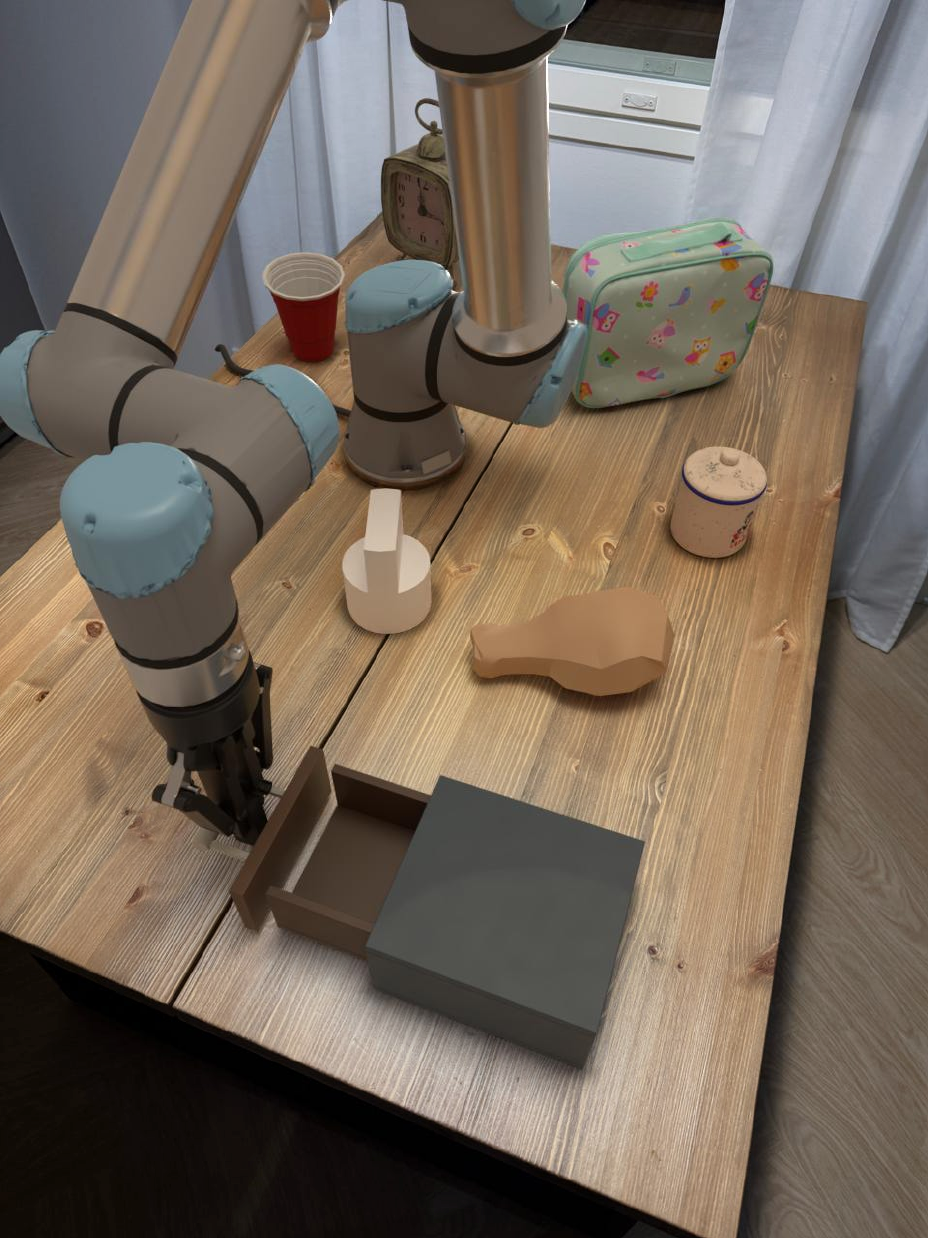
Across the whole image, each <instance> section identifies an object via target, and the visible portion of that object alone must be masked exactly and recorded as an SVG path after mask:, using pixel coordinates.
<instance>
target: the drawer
mask: <svg viewBox="0 0 928 1238" xmlns="http://www.w3.org/2000/svg"><path fill="white" fill-rule="evenodd" d="M330 773H331V774H330V775H331V780H332V784H333V789H334V794H335V799H336V806H335V808H334V811H333V813H332V814H331V815H330V819H329V820H328V821H327V824H326V826H325V828H324V830H323V832H322V834H321V835H320V838H319V840H318V842H317V843H316V846H315V847H314V849H313V851H312V853H311V855H310V857H309V859H308V861H307V863H306V865H305V867H304V869H303V870H302V873H301V874H300V877H299V878H298V881H297V882H296V884H295V886H294V888H293V890H292V892H290V891H288V890H286V889H282V887H283V885H284V883H285V881H286V879H288V876H289V874H290V872H291V870H292V868H293V866H294V864H295V862H296V860H297V859H298V856H299V855H300V853H301V851H302V849H303V847H304V845H305V843H306V841H307V840H308V838H309V836H310V834H311V832H312V830H313V828H314V826H315V824H316V822H317V821H318V819H319V817H320V814H321V813H322V812H323V809H324V808H325V805H326V804H327V802H328V799H329V798H330V797H331V794H332V792H333V791H332V785H331V781H330V775H329V771H328V766H327V762H326V756H325V751H324V749H323V748H320V747H317V746H314V745H309V748H308V749H307V751H306V753H305V754H304V756H303V758H302V760H301V762H300V764H299V765H298V767H297V768H296V770H295V773H294V774H293V776H292V777H291V779H290V781H289V783H288V785H287V786H286V788H285V789H282V788H279V787H277V786H274V785H272V789H271V791H270V793H269V794H268V796H273V797H276V798H278V799H279V801H278V802H277V804H276V806H275V808H274V809H273V811H272V813H271V815H270V816H269V818H268V822H267V824H266V825H265V827H264V829H263V831H262V832H261V834H260V836H259V838H258V839H257V841H256V843H255V845H254V847H253V846H252V848H251V850H250V852H248V851H245V850H243V849H241V848H237V847H234V846H231V845H228V844H226V843H223V842H221V841H218V840H217V839H218V837H219V835H220V834H218V833H215V832H213V831H210V830H207V829H204V828H201V827H199V828H198V829H197V831H196V833H195V834H194V836H193V837H192V839H191V841H190V843H191V845H192V846H193V847H194V848H196V849H197V850H199V851H201V852H205V853H208V852H209V851H210V850H212V851H214V852H218V853H220V854H223V855H226V856H229V857H232V858H234V859H237V860H240V861H242V862H243V864H242V866H241V868H240V870H239V872H238V873H237V875H236V877H235V879H234V880H233V882H232V884H231V885H230V887H229V889H228V892H229V895H230V897H231V899H232V901H233V903H234V906H235V908H236V910H237V912H238V915H239V917H240V919H241V921H242V924H243V926H244V928H246V929H248V930H251V931H254V932H257V933H258V932H259V931H260V929H261V927H262V926H263V924H264V921H265V920H266V918H267V917H268V916H267V915H268V914H269V912H270V910H271V913H272V915H273V919H274V921H275V923H276V926H277V928H278V929H281V930H284V931H286V932H288V933H291V934H294V935H296V936H299V937H301V938H304V939H307V940H310V941H313V942H314V943H318V944H321V945H323V946H326V947H328V948H330V949H334V950H336V951H338V952H341V953H344V954H346V955H349V956H352V957H354V958H357V959H360V960H362V961H365V962H367V963H368V960H367V955H366V949H365V944H366V942H367V940H368V938H369V935H370V933H371V931H372V929H373V926H374V924H375V922H376V919H377V917H378V915H379V913H380V910H381V908H382V906H383V904H384V901H385V899H386V897H387V895H388V892H389V890H390V888H391V885H392V883H393V881H394V879H395V876H396V874H397V872H398V870H399V867H400V865H401V863H402V860H403V858H404V856H405V854H406V851H407V849H408V847H409V845H410V842H411V840H412V838H413V835H414V833H415V831H416V829H417V826H418V824H419V822H420V820H421V817H422V815H423V813H424V811H425V808H426V806H427V804H428V801H429V799H430V797H431V795H432V794H428V793H426V792H422V791H420V790H416V789H413V788H410V787H407V786H404V785H401V784H399V783H395V782H392V781H390V780H386V779H383V778H381V777H378V776H377V777H376V776H373V775H371V774H367V773H365V772H362V771H359V770H355V769H353V768H350V767H346V766H343V765H340V764H337V763H334V764H333V766H332V768H331V770H330Z"/></svg>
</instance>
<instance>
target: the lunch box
mask: <svg viewBox="0 0 928 1238" xmlns="http://www.w3.org/2000/svg"><path fill="white" fill-rule="evenodd" d="M773 275H774V260H773V256H772V254H771V253H770V252H769V251H767V250H766V249H765V248H764V247H763V246H762V245H760V243H759V242H757V241H756V240H755V239H754V238H752V236H750V235H749V234H748V233H747V231H746V230H745V229H744V228H743V227H742V225H741V224H740V222H738V221H737V220H735V219H731V218H729V217H718V218H717V217H716V218H715V217H714V218H707V219H702V220H697V221H693V222H688V223H684V224H679V225H674V226H669V227H663V228H657V229H649V230H644V231H636V232H633V231H631V232H615V233H608V234H607V233H606V234H602V235H600V236H596V237H594V238H592V239H589V240H588V241H586V242H585V243H584V244H582V245H581V246H580V247H579V248H577V249H576V251H575V252H574V253H573V254H572V255H571V256H570V258H569V260H568V262H567V265H566V269H565V272H564V279H563V286H562V290H561V291H562V293H563V295H564V297H565V300H566V303H567V319H568V320H571V321H572V320H573V319H575V320H578V322H579V323H582V324H584V325H585V326H586V327H587V330H588V336H587V343H586V347H585V352H584V355H583V359H582V362H581V365H580V368H579V371H578V374H577V377H576V380H575V382H574V385H573V387H572V390H571V393H572V395H573V397H574V399H575V401H576V402H577V403H578V404H579V405H581V406H582V407H586V408H589V409H601V408H608V407H613V406H619V405H624V404H628V403H634V402H638V401H645V400H652V399H665V398H666V399H667V398H669V397H673V396H674V395H677V394H679V393H680V394H681V393H682V392H688V391H691V390H696V389H703V388H706V387H709V386H712V385H715V384H718V383H719V382H721V381H723V380H725V379H726V378H728V377H729V376H730V375H731V374H732V373H734V371H735V370H736V369H737V368H738V367H739V366H740V365H741V363H742V362H743V360H744V358H745V357H746V355H747V352H748V350H749V349H750V345H751V343H752V340H753V337H754V335H755V331H756V328H757V326H758V323H759V319H760V316H761V314H762V310H763V307H764V305H765V302H766V299H767V295H768V292H769V288H770V286H771V283H772V280H773Z"/></svg>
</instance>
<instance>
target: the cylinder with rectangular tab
mask: <svg viewBox="0 0 928 1238" xmlns="http://www.w3.org/2000/svg"><path fill="white" fill-rule="evenodd" d="M402 501H403V499H402V490H400V489H389V488H374V489H371V490H370V494H369V502H368V503H369V504H368V510H367V519H366V527H365V535H364V537H362V538H359V539H358V540H356V541H355V542H354V543H353V544H352V545H350V546H349V547H348V548H347V550H346V552H344V555H343V558H342V563H341V564H342V567H341V568H342V575H343V585H344V590H345V598H346V606H347V610H348V613H349V616H350V618H351V619H352V621H354V622H355V623H356V625H358V626H359V627H361V628H363V629H364V630H365V631H368V632H372V633H375V634H381V635H393V634H400V633H403V632H407V631H410V630H411V629H413V628H415V627H417V626H418V625H420V623H422V622H423V621H424V620H425V619H426V618H427V616H428V614H429V613H430V611H431V608H432V572H431V571H432V570H431V555H430V554H429V551H428V550H427V548H426V547H425V545H424V544H423V543H421V542H420V541H419V540H417V538H414V537H412V536H410V535H407V534H404V522H403V519H404V518H403V502H402Z"/></svg>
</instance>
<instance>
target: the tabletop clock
mask: <svg viewBox="0 0 928 1238" xmlns="http://www.w3.org/2000/svg"><path fill="white" fill-rule="evenodd" d="M425 104H427V105H432V106H435V107H437V108H439V102H438V99H434V98H429V97H425V98H422V99H419V100H418V101H417V103H416V104H415V107H414V115H415V118H416V120H417V122H418V124H419V125H420V126H421V127H423V128H424V129H425V130H427V131H428V133H426V134H424V135H423V136H421V137H420V139H419V140H418V143H416V144H415V145H411V146H410V147H408V148H406V149H404V150H401V151H399V152H397V153H395V154H392V155H390V156H388V157H386V158H384V159H383V161H382V165H381V170H380V171H381V173H380V202H381V203H380V204H381V211H382V213H381V214H382V221H383V226H384V231H385V235H386V238H387V241H388V243H390V245H391V246H392V247H393V248H395V249H396V250H397V251H399V252H401V253H402V255H398V256H397V257H396V259H395V262H396V261H403V260H407V258H406V257H407V256H408V257H410V258H411V259H413V260H424V261H430V262H434V263H437V264H439V265H441V266H443V267H444V268H448V270H447V271H448V272H449V273H450V276H451V279H452V280H453V289H455V288H456V287H457V285H458V284H457V279H456V278H455V277H454V264H456V263H458V262H460V261H459V254H458V246H457V238H456V231H455V223H454V216H453V208H452V200H451V193H450V185H449V178H448V170H447V162H446V155H445V147H444V140H443V132H442V128H438V122H437V121H436V120H432V121H430V123H429V124H428V123H426V122H425V121H424V120H423V119H422V118H421V117H420V115H419V109H420V107H421V106H422V105H425Z"/></svg>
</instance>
